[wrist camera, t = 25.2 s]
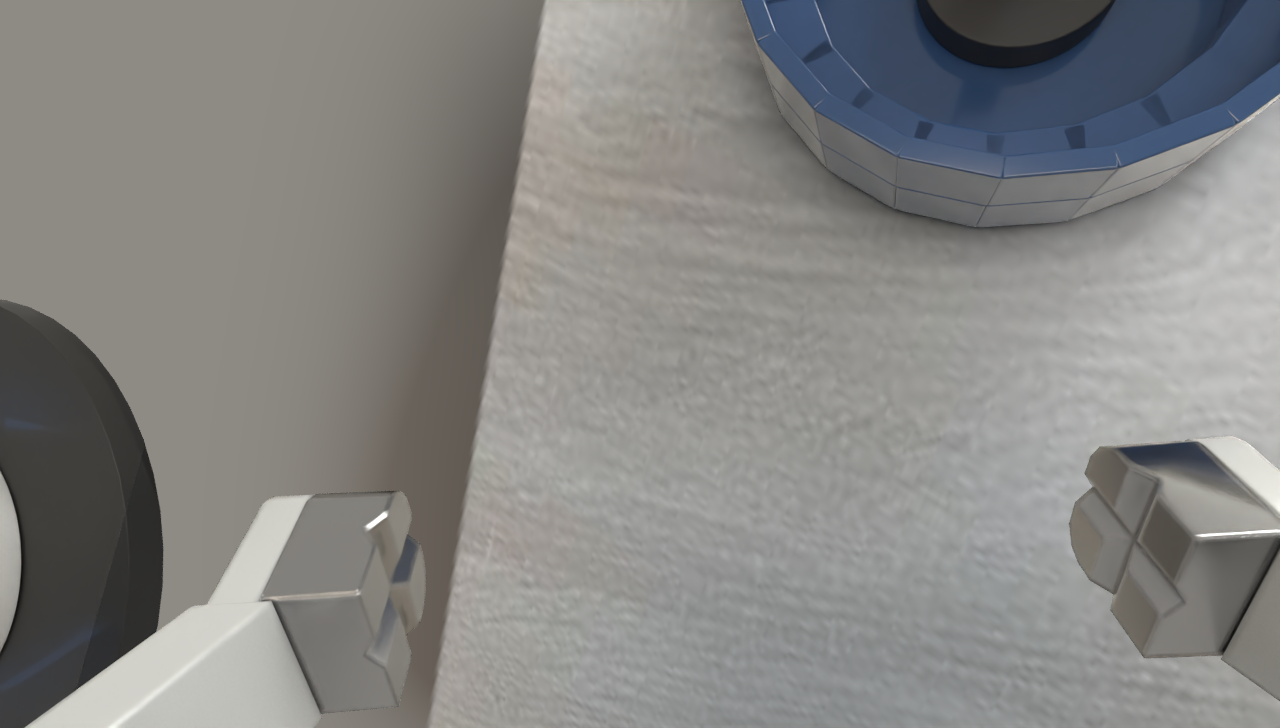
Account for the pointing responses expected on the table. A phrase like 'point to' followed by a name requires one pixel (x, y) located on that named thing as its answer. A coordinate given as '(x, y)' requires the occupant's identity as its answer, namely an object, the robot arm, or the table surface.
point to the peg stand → (1011, 28)
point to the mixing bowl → (1016, 103)
